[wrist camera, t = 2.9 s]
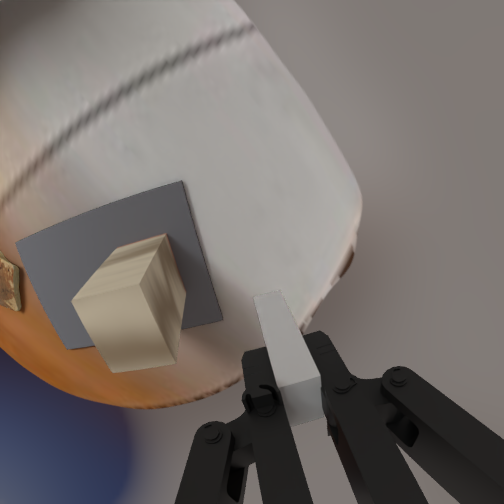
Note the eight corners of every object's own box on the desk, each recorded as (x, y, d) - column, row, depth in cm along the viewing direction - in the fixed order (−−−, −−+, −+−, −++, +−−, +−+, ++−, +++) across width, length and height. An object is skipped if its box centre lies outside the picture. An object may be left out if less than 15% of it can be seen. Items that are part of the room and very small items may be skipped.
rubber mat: (17, 241, 22) (15, 243, 21) (181, 180, 23) (181, 181, 22) (68, 347, 27) (67, 349, 27) (222, 317, 28) (222, 320, 27)
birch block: (117, 247, 24) (71, 300, 14) (166, 233, 24) (139, 284, 14) (139, 303, 26) (112, 372, 16) (186, 292, 26) (176, 363, 17)
